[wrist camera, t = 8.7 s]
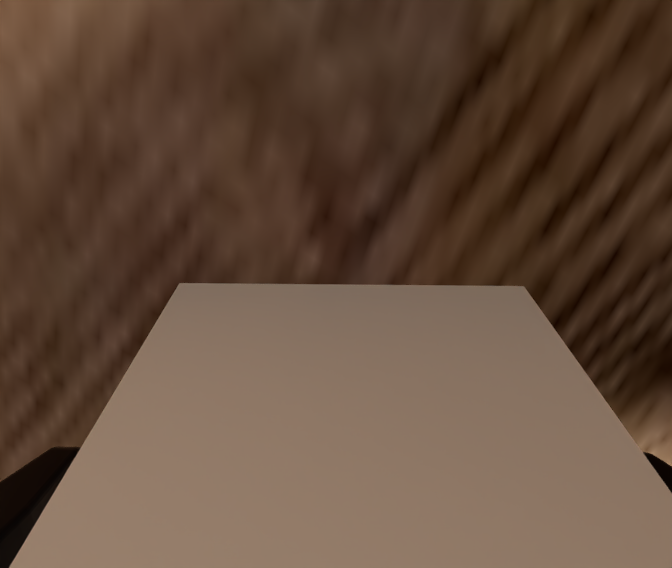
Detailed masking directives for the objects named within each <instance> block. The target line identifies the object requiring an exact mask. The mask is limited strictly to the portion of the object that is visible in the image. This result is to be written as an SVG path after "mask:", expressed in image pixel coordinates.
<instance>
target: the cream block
mask: <svg viewBox="0 0 672 568" xmlns="http://www.w3.org/2000/svg"><path fill="white" fill-rule="evenodd" d="M9 568H672V493H671V491H670V490H669V489H668V487H667V486H666V484H665V483H664V482H663V480H662V479H661V477H660V476H659V475H658V473H657V472H656V470H655V469H654V468H653V466H652V465H651V463H650V462H649V461H648V459H647V458H646V456H645V455H644V454H643V452H642V451H641V449H640V448H639V447H638V445H637V444H636V442H635V441H634V440H633V438H632V437H631V435H630V434H629V433H628V431H627V430H626V428H625V427H624V426H623V424H622V423H621V421H620V420H619V419H618V417H617V416H616V414H615V413H614V412H613V410H612V409H611V407H610V406H609V405H608V403H607V402H606V400H605V399H604V398H603V396H602V395H601V393H600V392H599V391H598V389H597V388H596V386H595V385H594V384H593V382H592V381H591V379H590V378H589V377H588V375H587V374H586V372H585V371H584V370H583V368H582V367H581V365H580V364H579V363H578V361H577V360H576V358H575V357H574V356H573V354H572V353H571V351H570V350H569V349H568V347H567V346H566V344H565V343H564V342H563V340H562V339H561V337H560V336H559V335H558V333H557V332H556V330H555V329H554V328H553V326H552V325H551V323H550V322H549V321H548V319H547V318H546V316H545V315H544V314H543V312H542V311H541V309H540V308H539V307H538V305H537V304H536V302H535V301H534V300H533V298H532V297H531V295H530V294H529V293H528V291H527V290H526V288H525V287H524V286H455V285H342V284H228V283H179V285H178V286H177V288H176V290H175V291H174V293H173V295H172V296H171V298H170V300H169V301H168V303H167V305H166V306H165V308H164V310H163V311H162V313H161V315H160V316H159V318H158V320H157V321H156V323H155V325H154V326H153V328H152V330H151V331H150V333H149V335H148V336H147V338H146V340H145V341H144V343H143V345H142V346H141V348H140V350H139V351H138V353H137V355H136V356H135V358H134V360H133V361H132V363H131V365H130V366H129V368H128V370H127V371H126V373H125V375H124V376H123V378H122V380H121V382H120V383H119V385H118V387H117V388H116V390H115V392H114V393H113V395H112V397H111V398H110V400H109V402H108V403H107V405H106V407H105V408H104V410H103V412H102V413H101V415H100V417H99V418H98V420H97V422H96V423H95V425H94V427H93V428H92V430H91V432H90V433H89V435H88V437H87V438H86V440H85V442H84V443H83V445H82V447H81V448H80V450H79V452H78V453H77V455H76V457H75V458H74V460H73V462H72V463H71V465H70V467H69V468H68V470H67V472H66V473H65V475H64V477H63V478H62V480H61V482H60V483H59V485H58V487H57V488H56V490H55V492H54V493H53V495H52V497H51V498H50V500H49V502H48V503H47V505H46V507H45V508H44V510H43V512H42V513H41V515H40V517H39V518H38V520H37V522H36V524H35V525H34V527H33V529H32V530H31V532H30V534H29V535H28V537H27V539H26V540H25V542H24V544H23V545H22V547H21V549H20V550H19V552H18V554H17V555H16V557H15V559H14V560H13V562H12V564H11V565H10V567H9Z"/></svg>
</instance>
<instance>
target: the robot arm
mask: <svg viewBox="0 0 672 568" xmlns="http://www.w3.org/2000/svg"><path fill="white" fill-rule="evenodd" d="M79 450H80V447H54V448H51V449H49V450H48V451H46V452H45V453H43V454H42V455H40V456H39V457H37V458H36V459H34V460H33V461H31V462H30V463H28V464H27V465H25V466H24V467H22V468H21V469H19V470H18V471H16V472H15V473H13V474H12V475H10V476H9V477H7V478H6V479H4V480H3V481H1V482H0V568H9V567H10V565H11V564H12V562H13V560H14V559H15V557H16V555H17V554H18V552H19V550H20V549H21V547H22V545H23V544H24V542H25V540H26V539H27V537H28V535H29V534H30V532H31V530H32V529H33V527H34V525H35V524H36V522H37V520H38V518H39V517H40V515H41V513H42V512H43V510H44V508H45V507H46V505H47V503H48V502H49V500H50V498H51V497H52V495H53V493H54V492H55V490H56V488H57V487H58V485H59V483H60V482H61V480H62V478H63V477H64V475H65V473H66V472H67V470H68V468H69V467H70V465H71V463H72V462H73V460H74V458H75V457H76V455H77V453H78V452H79ZM643 454H644V455H645V456H646V458H647V459H648V461H649V462H650V463H651V465H652V466H653V468H654V469H655V470H656V472H657V473H658V475H659V476H660V477H661V479H662V480H663V482H664V483H665V484H666V486H667V487H668V489H669V490H670V491H671V493H672V467H671V466H670V465H668V464H667V463H665V462H664V461H662V460H661V459H659V458H657V457H656V456H654V455H652V454H650V453H645V452H643Z"/></svg>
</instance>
